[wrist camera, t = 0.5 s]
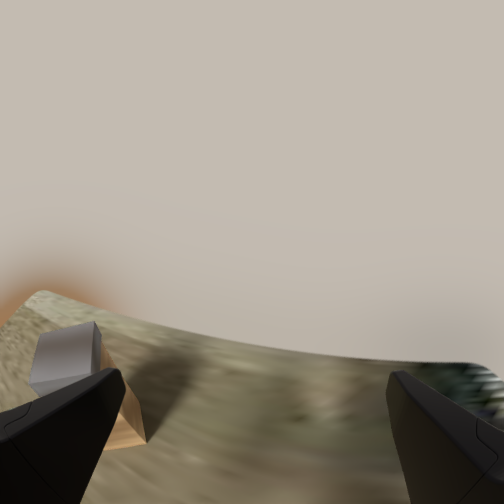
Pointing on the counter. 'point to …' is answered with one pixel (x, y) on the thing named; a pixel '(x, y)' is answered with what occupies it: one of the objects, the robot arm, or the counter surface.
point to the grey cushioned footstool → (83, 375)
